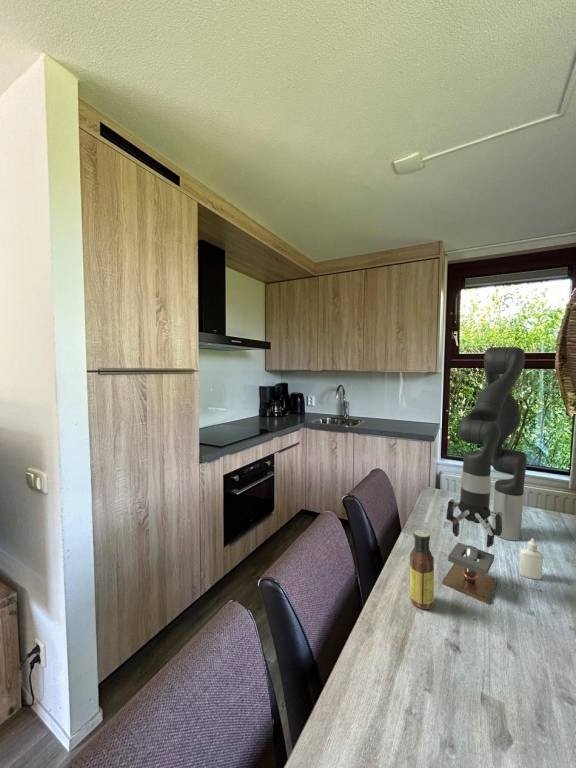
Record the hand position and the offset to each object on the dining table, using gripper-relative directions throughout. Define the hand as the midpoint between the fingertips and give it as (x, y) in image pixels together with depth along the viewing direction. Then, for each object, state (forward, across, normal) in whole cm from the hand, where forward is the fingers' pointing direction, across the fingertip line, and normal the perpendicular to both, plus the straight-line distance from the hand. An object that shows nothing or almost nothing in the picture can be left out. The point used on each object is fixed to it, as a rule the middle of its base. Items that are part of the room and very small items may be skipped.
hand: (472, 540), depth 98 cm
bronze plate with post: (+13, 0, 0) cm, 13 cm away
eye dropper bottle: (+14, -13, -17) cm, 25 cm away
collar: (+6, 0, 0) cm, 6 cm away
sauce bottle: (+14, +8, +18) cm, 24 cm away
